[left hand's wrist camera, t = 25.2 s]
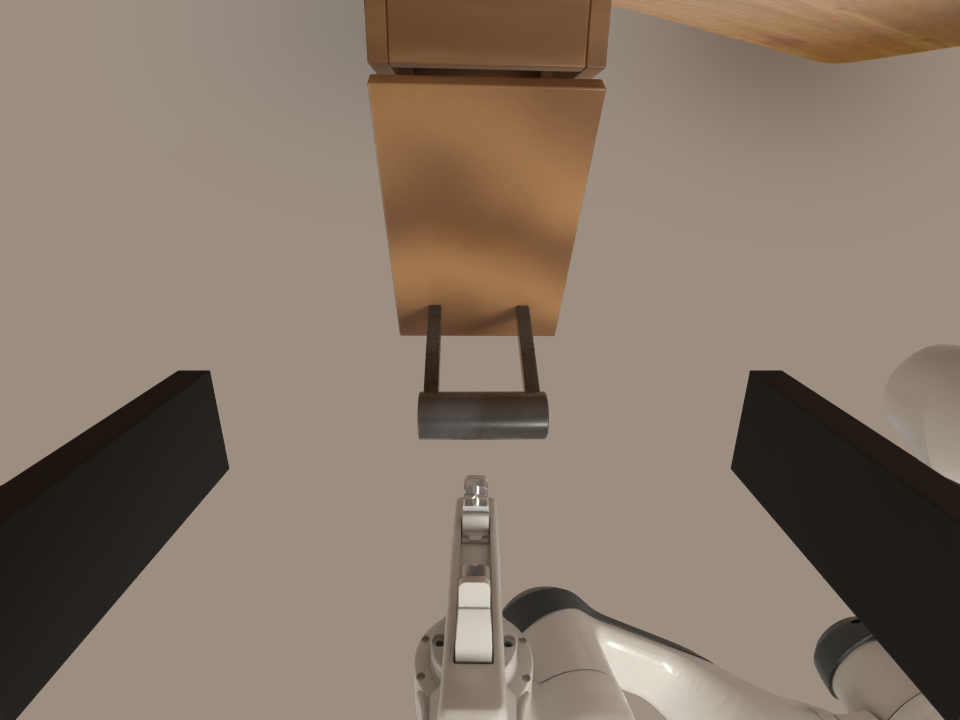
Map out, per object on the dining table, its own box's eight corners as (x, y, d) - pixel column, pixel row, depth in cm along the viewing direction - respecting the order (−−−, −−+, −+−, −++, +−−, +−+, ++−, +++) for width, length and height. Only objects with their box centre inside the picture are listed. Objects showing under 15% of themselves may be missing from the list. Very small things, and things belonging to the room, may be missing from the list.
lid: (552, 325, 30) (575, 459, 25) (401, 325, 30) (386, 460, 24) (602, 78, 20) (661, 209, 14) (369, 73, 19) (330, 205, 14)
